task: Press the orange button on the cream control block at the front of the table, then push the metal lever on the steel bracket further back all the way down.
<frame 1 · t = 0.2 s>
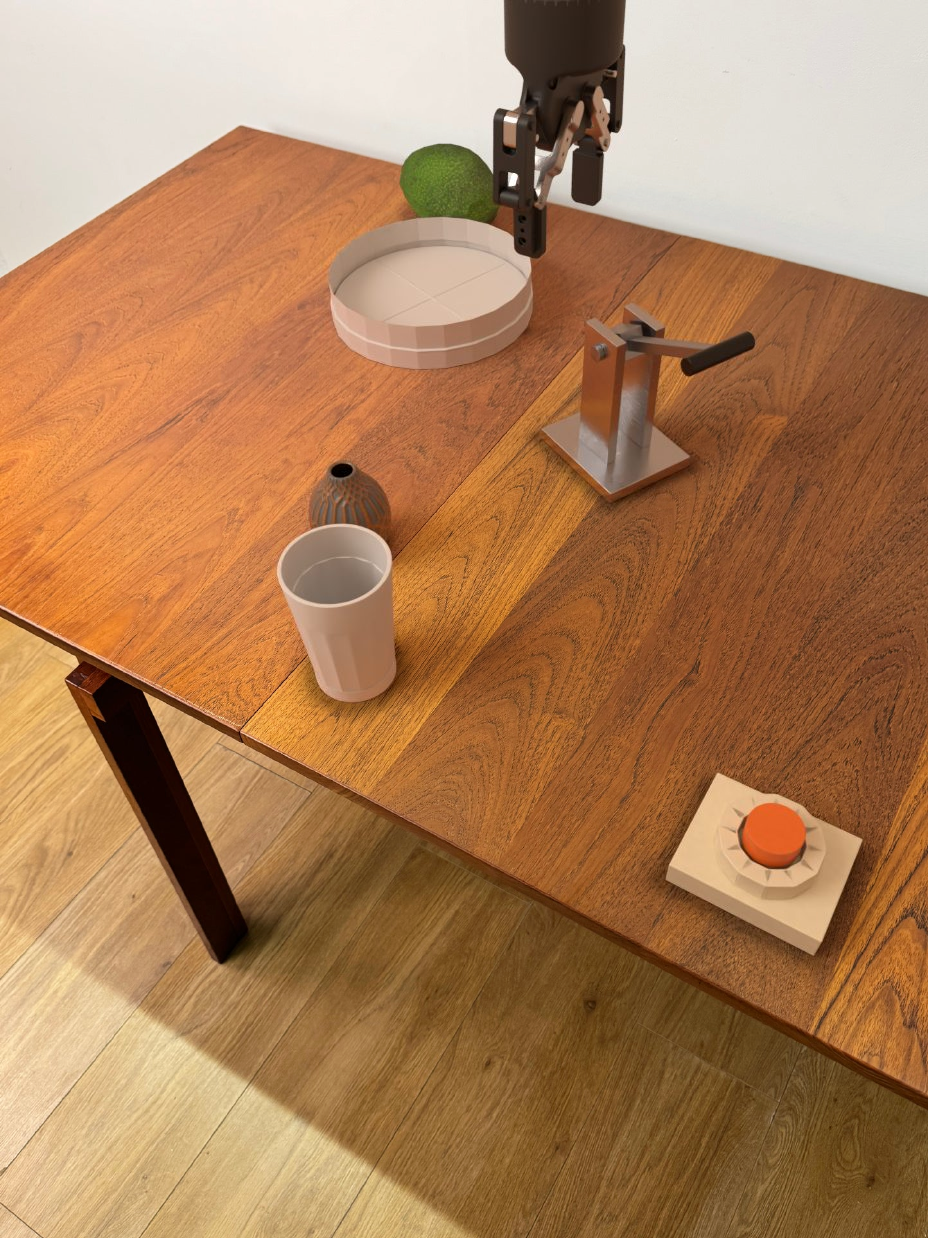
hand: (559, 227, 73), 24 cm above the table, tool pointing down, fingers open, 8 cm apart
fruit: (449, 228, 122), on the table
cup: (356, 670, 78), on the table
metal lever: (665, 347, 79), point 14 cm above the table, hinge at 25.0°
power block: (760, 867, 66), on the table
lever bracket: (613, 451, 93), on the table
vase: (355, 547, 87), on the table
dish: (432, 310, 110), on the table
power button: (773, 834, 62), point 4 cm above the table, slide at 0.1 cm
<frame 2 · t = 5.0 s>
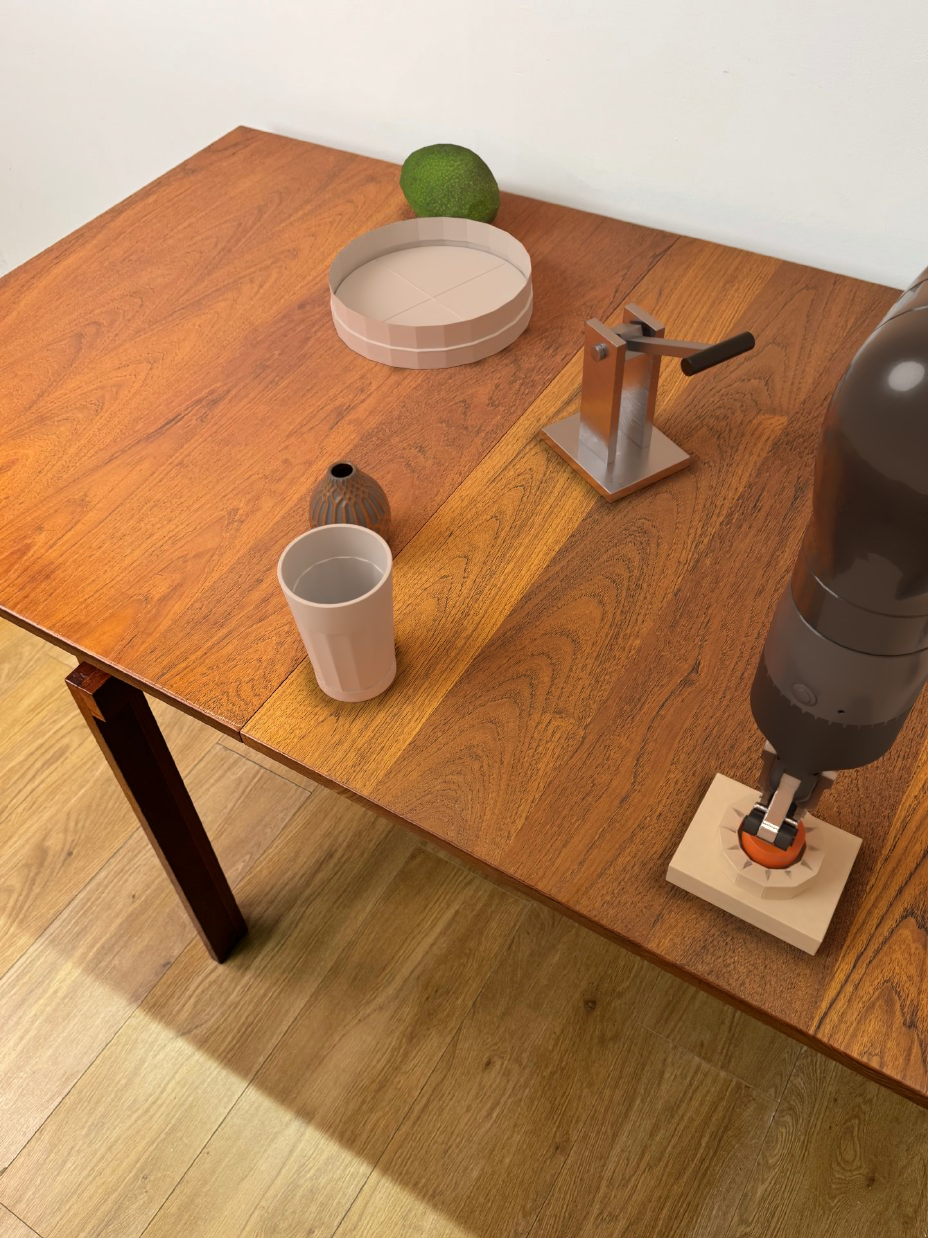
hand: (773, 829, 62), 5 cm above the table, tool pointing down, fingers closed
power button: (773, 835, 63), point 4 cm above the table, slide at 0.0 cm, touching gripper
everything else where it was.
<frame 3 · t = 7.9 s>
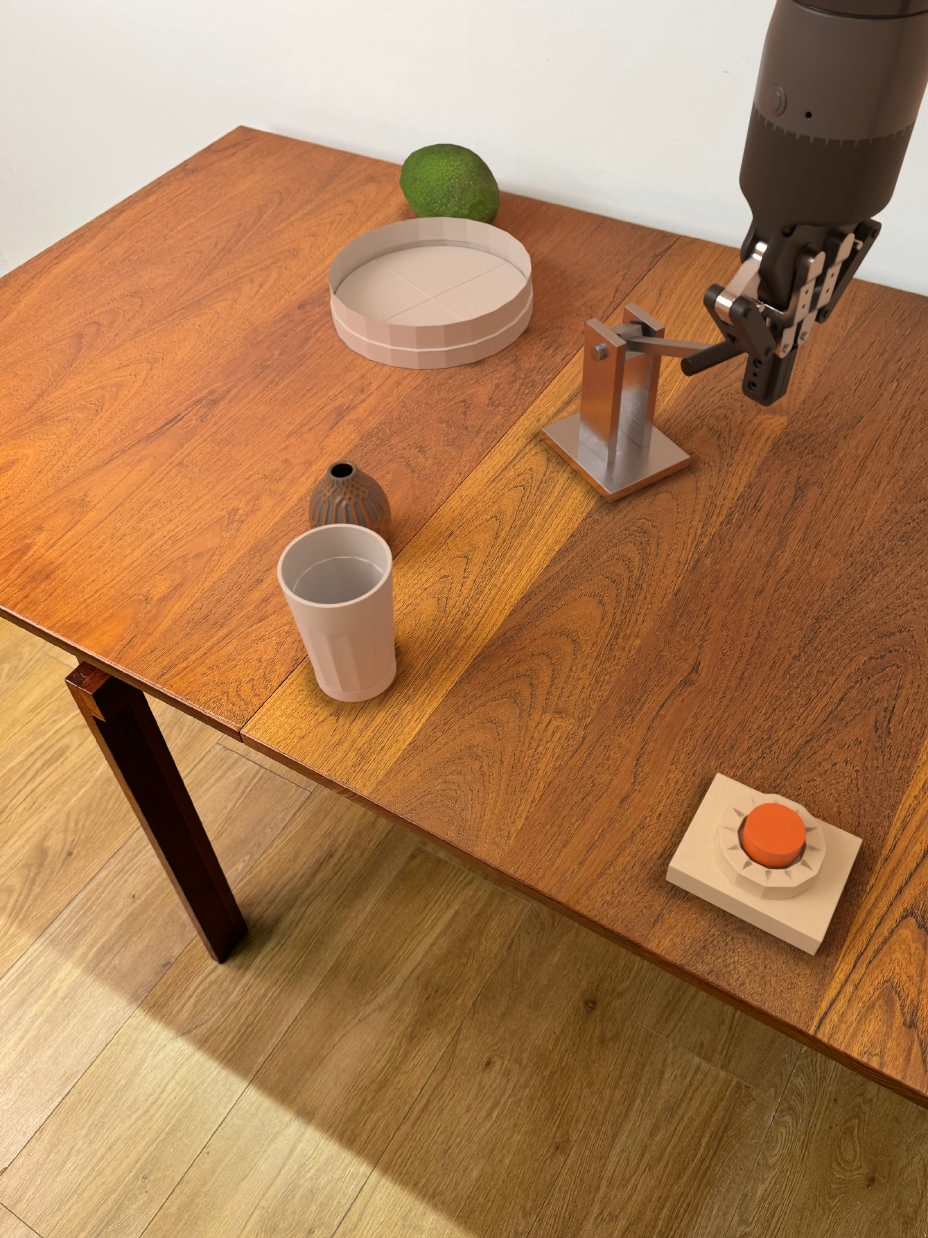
hand: (762, 395, 60), 24 cm above the table, tool pointing down, fingers closed
power button: (773, 834, 62), point 4 cm above the table, slide at 0.1 cm
everything else where it was.
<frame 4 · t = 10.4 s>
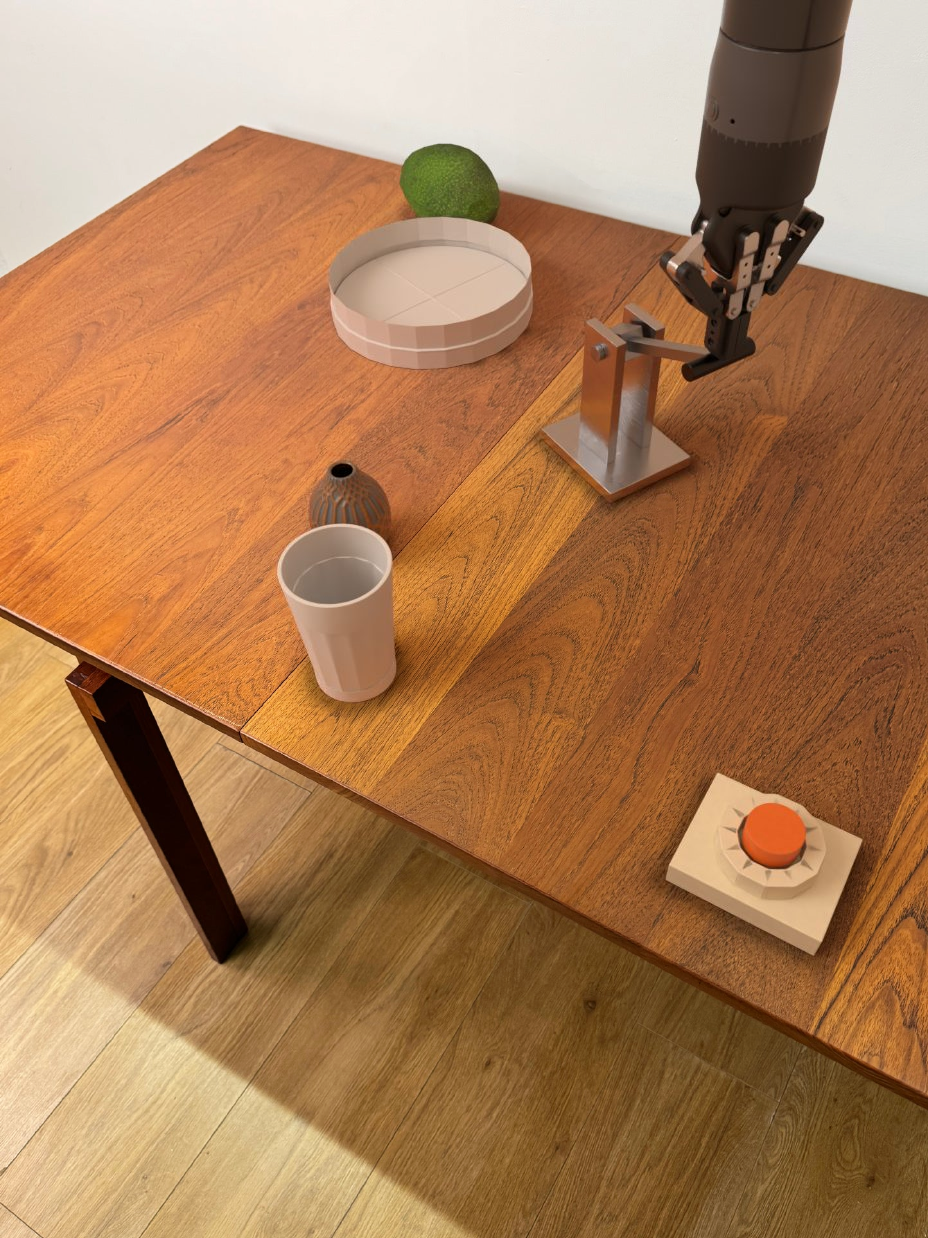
hand: (723, 352, 74), 17 cm above the table, tool pointing down, fingers closed
metal lever: (665, 349, 80), point 14 cm above the table, hinge at 23.0°, touching gripper
everything else where it was.
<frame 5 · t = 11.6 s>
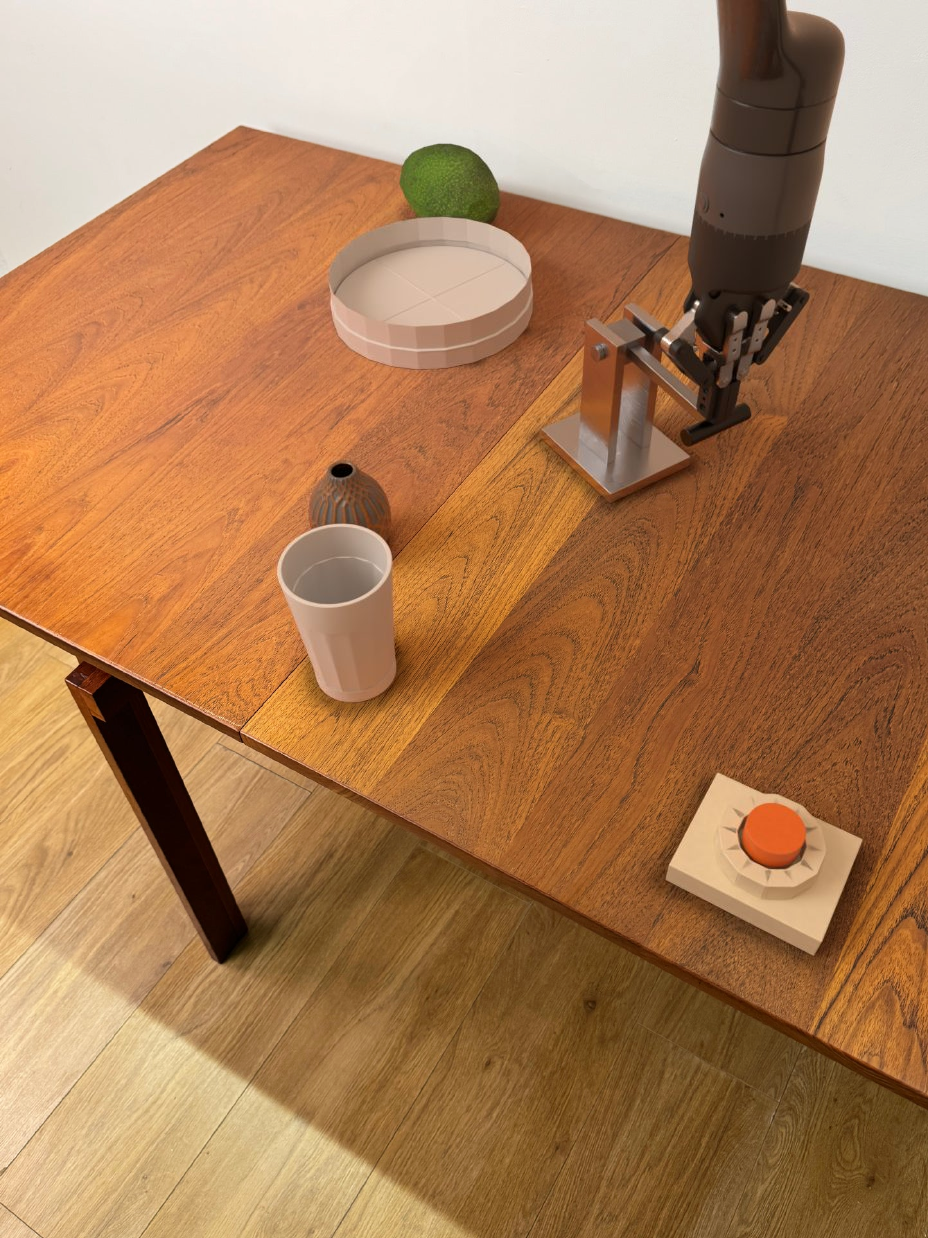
hand: (714, 415, 78), 12 cm above the table, tool pointing down, fingers closed
metal lever: (665, 379, 81), point 12 cm above the table, hinge at -4.0°, touching gripper
everything else where it was.
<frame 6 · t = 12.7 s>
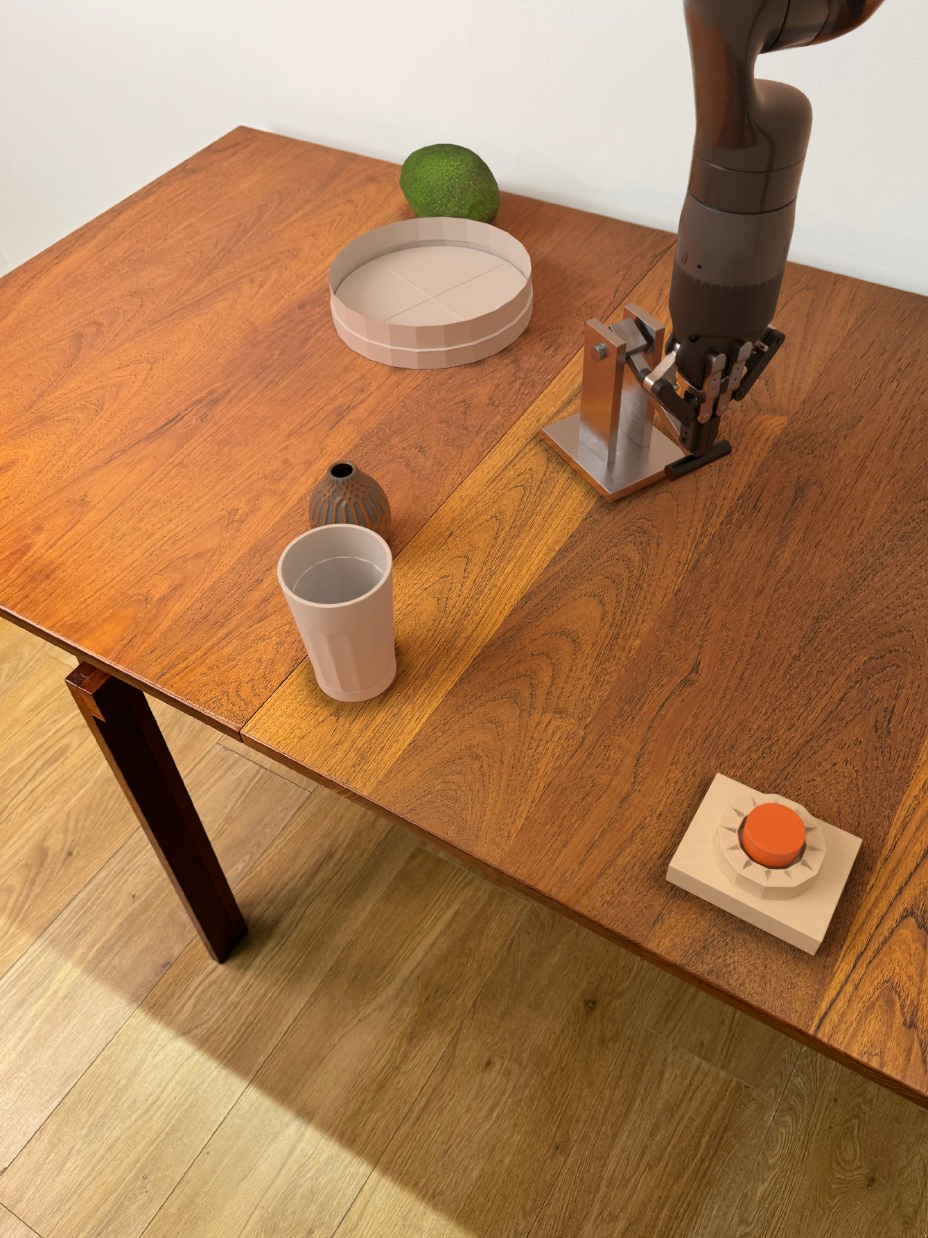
hand: (696, 448, 81), 8 cm above the table, tool pointing down, fingers closed
metal lever: (658, 396, 83), point 9 cm above the table, hinge at -26.3°, touching gripper
everything else where it was.
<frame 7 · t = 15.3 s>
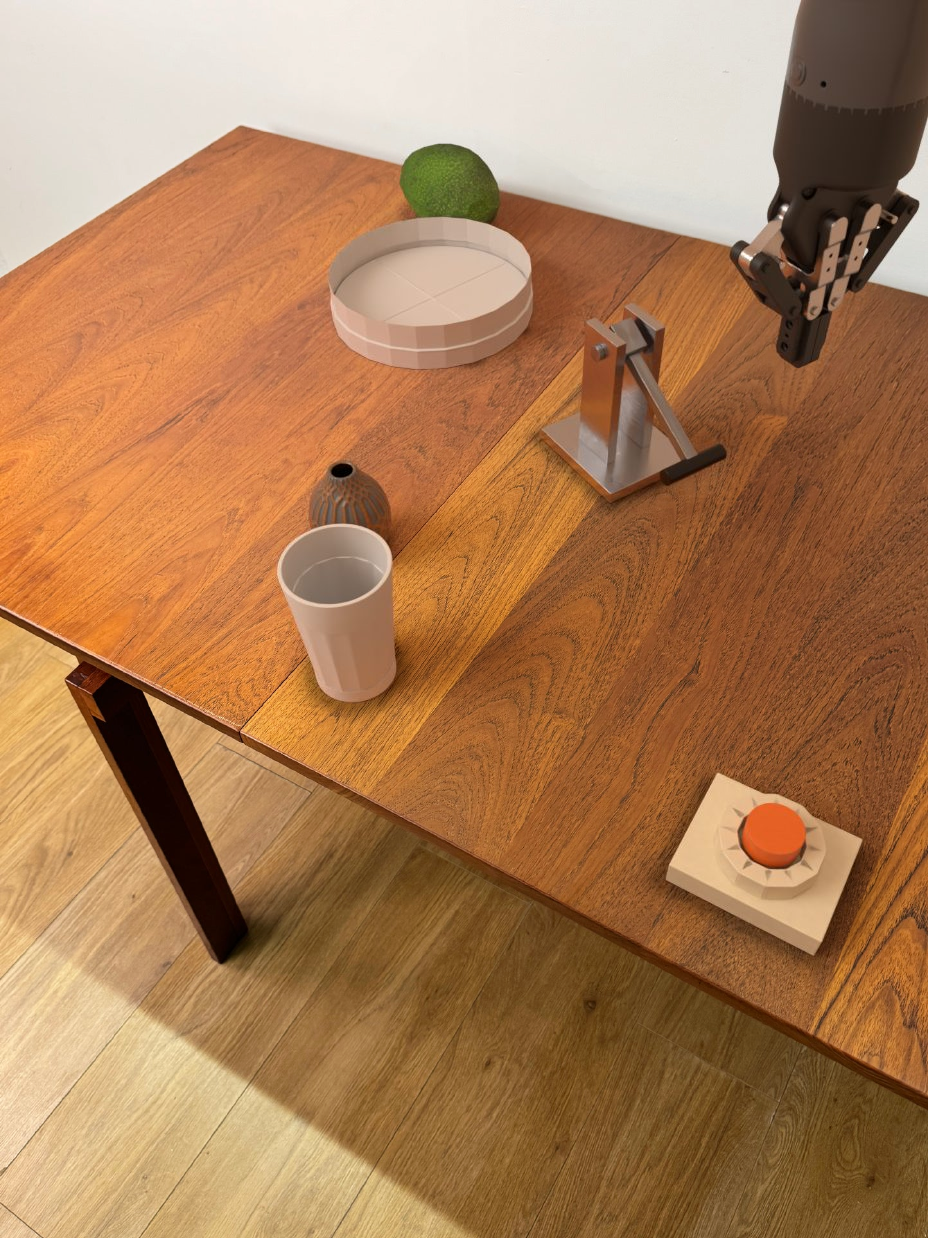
hand: (797, 358, 64), 22 cm above the table, tool pointing down, fingers closed
metal lever: (656, 399, 84), point 9 cm above the table, hinge at -30.7°
everything else where it was.
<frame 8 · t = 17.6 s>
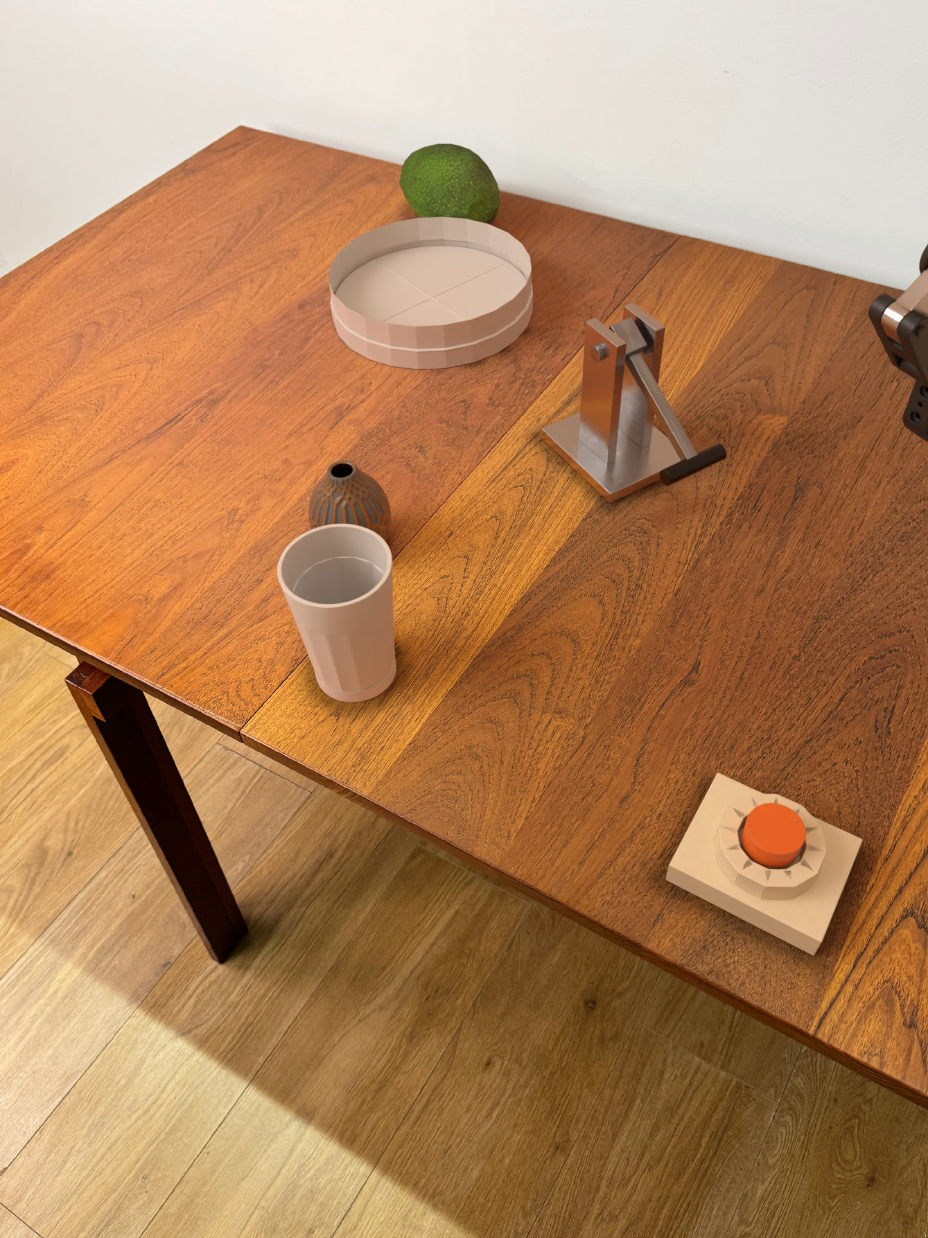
hand: (926, 429, 53), 27 cm above the table, tool pointing down, fingers closed
nothing on the table moved.
at the end: power button pushed in 1.1 cm at the most during the clip, back to where it started at the end; power button slide at 0.1 cm; metal lever at -31° (first picture: +25°) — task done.
